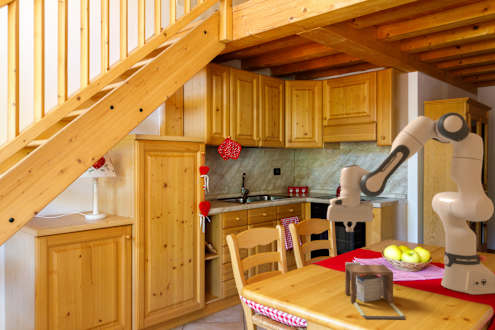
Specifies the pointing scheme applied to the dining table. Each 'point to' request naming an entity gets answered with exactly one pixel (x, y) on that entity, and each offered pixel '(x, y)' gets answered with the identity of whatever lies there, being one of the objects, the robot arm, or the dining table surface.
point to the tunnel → (369, 270)
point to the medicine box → (368, 288)
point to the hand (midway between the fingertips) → (349, 231)
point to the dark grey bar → (384, 317)
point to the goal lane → (390, 304)
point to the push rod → (350, 273)
